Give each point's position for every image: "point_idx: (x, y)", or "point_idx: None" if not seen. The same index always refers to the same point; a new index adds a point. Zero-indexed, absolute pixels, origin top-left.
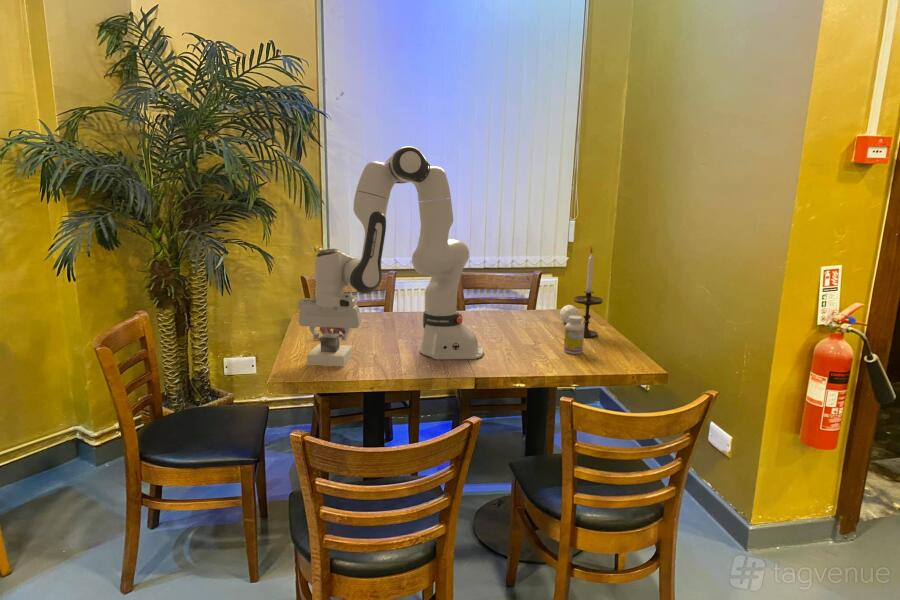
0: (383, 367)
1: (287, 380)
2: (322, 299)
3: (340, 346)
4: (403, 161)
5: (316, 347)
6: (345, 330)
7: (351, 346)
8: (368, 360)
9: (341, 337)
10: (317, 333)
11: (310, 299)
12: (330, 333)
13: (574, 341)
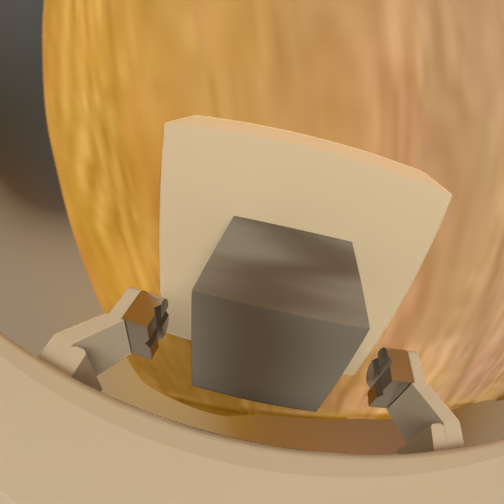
0: (483, 341)
1: (169, 390)
2: None
3: (362, 200)
4: None
5: (171, 209)
6: (402, 453)
7: (442, 213)
8: (474, 266)
9: (368, 394)
10: (135, 330)
11: None
12: (266, 313)
13: None
